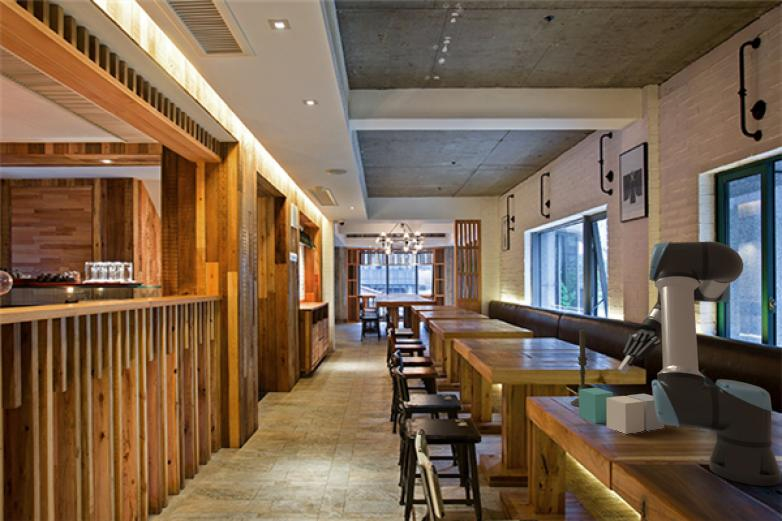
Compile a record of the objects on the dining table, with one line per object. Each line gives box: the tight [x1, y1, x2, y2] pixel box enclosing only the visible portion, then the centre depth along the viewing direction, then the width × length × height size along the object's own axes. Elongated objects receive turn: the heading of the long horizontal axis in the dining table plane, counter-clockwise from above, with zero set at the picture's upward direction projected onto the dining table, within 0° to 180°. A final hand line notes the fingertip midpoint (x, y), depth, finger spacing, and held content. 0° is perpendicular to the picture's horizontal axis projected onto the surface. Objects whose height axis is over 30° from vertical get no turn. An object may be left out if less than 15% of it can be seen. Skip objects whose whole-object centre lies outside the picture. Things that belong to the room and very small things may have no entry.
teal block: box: [578, 387, 614, 424], centre depth 180 cm, size 8×8×10 cm
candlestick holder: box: [570, 328, 589, 408], centre depth 199 cm, size 9×9×30 cm
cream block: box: [606, 395, 645, 435], centre depth 167 cm, size 8×8×10 cm
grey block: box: [626, 393, 665, 432], centre depth 171 cm, size 8×8×10 cm
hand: (621, 371), depth 184 cm, fingers closed
